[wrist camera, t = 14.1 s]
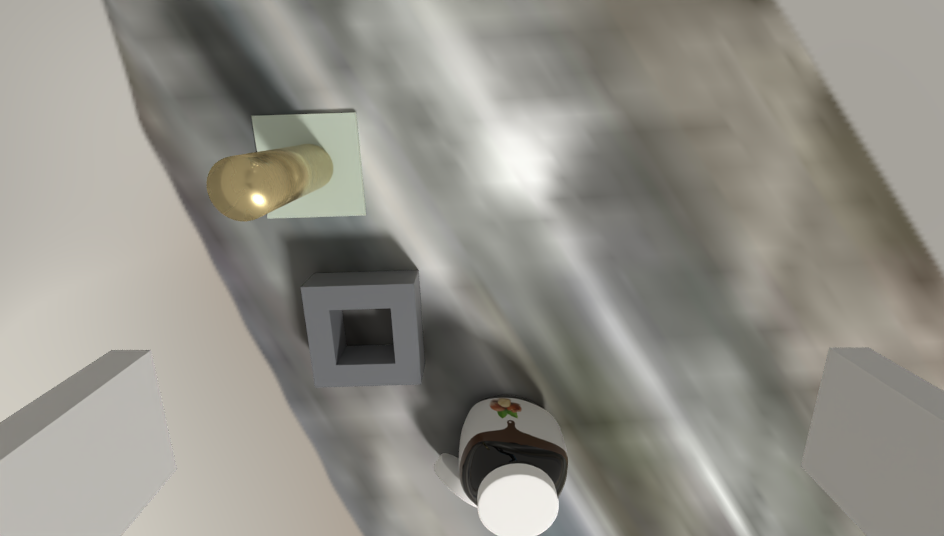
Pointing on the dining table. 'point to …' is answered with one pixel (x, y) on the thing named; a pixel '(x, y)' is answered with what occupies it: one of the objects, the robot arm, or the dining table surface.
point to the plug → (267, 180)
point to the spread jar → (508, 465)
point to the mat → (341, 145)
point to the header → (364, 362)
